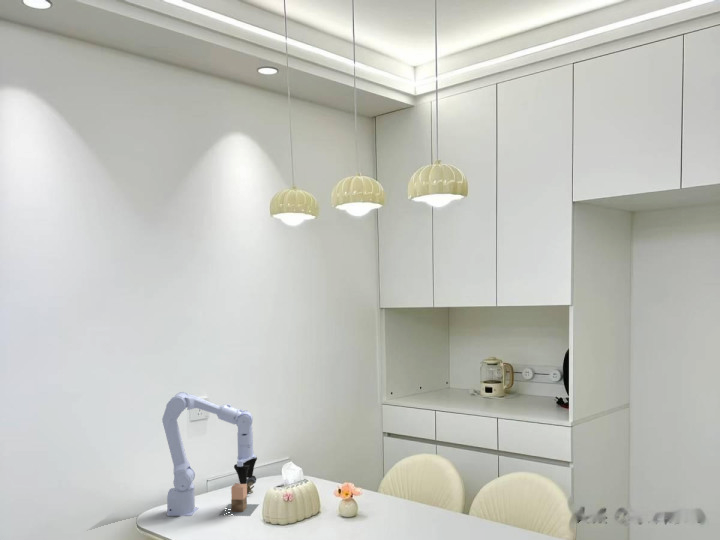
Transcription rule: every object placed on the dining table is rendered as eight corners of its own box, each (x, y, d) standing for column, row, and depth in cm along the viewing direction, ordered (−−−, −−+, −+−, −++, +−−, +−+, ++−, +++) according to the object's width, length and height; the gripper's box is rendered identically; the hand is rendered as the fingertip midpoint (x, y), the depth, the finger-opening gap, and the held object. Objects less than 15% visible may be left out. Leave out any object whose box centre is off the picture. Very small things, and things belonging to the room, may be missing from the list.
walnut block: (231, 511, 225) (231, 499, 225) (235, 507, 229) (235, 495, 230) (243, 511, 225) (243, 499, 225) (246, 507, 229) (246, 495, 229)
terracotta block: (231, 499, 225) (231, 487, 225) (235, 495, 230) (235, 483, 230) (243, 499, 225) (243, 487, 225) (247, 495, 229) (246, 483, 229)
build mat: (218, 516, 222) (218, 515, 222) (228, 504, 234) (228, 503, 234) (250, 516, 220) (250, 515, 220) (259, 505, 232) (259, 504, 232)
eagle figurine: (260, 493, 243) (260, 482, 252) (249, 479, 242) (250, 469, 250) (244, 503, 243) (245, 492, 252) (233, 490, 241) (235, 479, 250)
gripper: (249, 449, 222) (250, 486, 221) (260, 439, 236) (261, 474, 236) (231, 449, 223) (232, 486, 222) (243, 439, 237) (244, 474, 236)
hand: (246, 480), depth 229 cm, fingers open, 7 cm apart
